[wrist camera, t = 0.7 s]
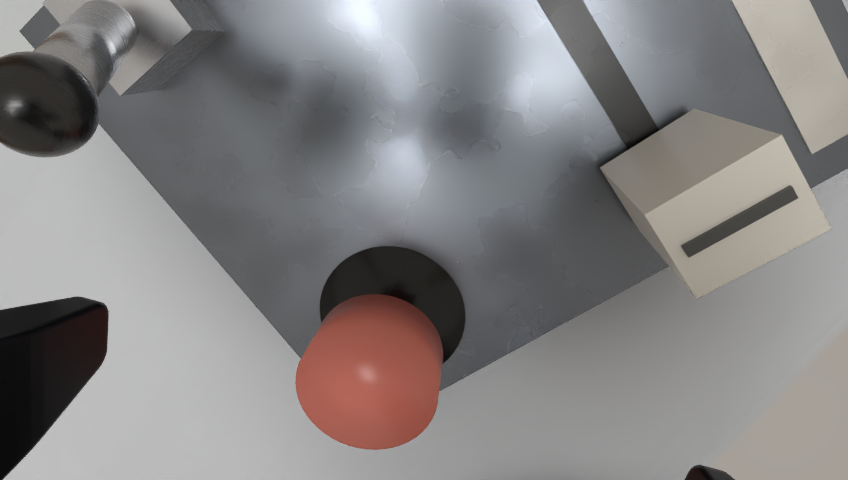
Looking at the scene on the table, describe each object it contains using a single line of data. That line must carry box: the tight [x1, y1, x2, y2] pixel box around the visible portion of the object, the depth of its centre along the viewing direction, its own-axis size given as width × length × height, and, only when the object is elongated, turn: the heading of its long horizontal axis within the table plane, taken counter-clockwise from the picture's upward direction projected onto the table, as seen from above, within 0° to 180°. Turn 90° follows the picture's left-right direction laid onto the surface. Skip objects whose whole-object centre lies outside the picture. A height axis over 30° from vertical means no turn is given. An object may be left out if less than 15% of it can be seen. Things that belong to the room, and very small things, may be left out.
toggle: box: [0, 0, 137, 157], centre depth 12 cm, size 2×2×6 cm
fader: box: [600, 109, 832, 299], centre depth 14 cm, size 2×3×5 cm
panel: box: [20, 0, 848, 391], centre depth 16 cm, size 18×20×4 cm
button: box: [296, 294, 443, 450], centre depth 16 cm, size 4×4×2 cm
